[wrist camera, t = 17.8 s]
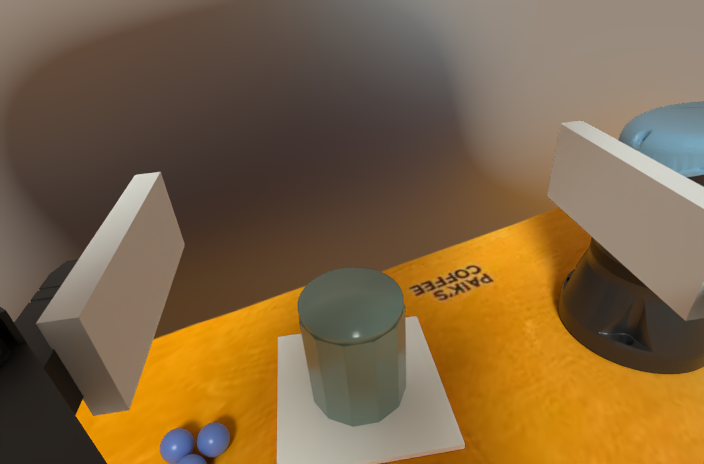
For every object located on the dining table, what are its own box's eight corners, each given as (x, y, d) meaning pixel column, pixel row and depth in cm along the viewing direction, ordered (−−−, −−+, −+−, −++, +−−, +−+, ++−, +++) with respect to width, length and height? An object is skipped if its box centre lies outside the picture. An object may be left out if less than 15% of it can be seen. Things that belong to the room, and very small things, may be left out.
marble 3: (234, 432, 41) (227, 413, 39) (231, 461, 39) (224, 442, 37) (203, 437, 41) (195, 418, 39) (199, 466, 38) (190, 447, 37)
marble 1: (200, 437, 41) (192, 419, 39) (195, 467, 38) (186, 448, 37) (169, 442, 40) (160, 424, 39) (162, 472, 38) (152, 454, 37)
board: (416, 319, 51) (416, 315, 51) (464, 448, 38) (465, 444, 38) (278, 340, 50) (277, 337, 50) (277, 481, 37) (276, 477, 36)
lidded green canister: (393, 343, 48) (390, 261, 42) (414, 416, 40) (415, 328, 34) (310, 356, 47) (296, 274, 41) (316, 432, 40) (299, 346, 34)
